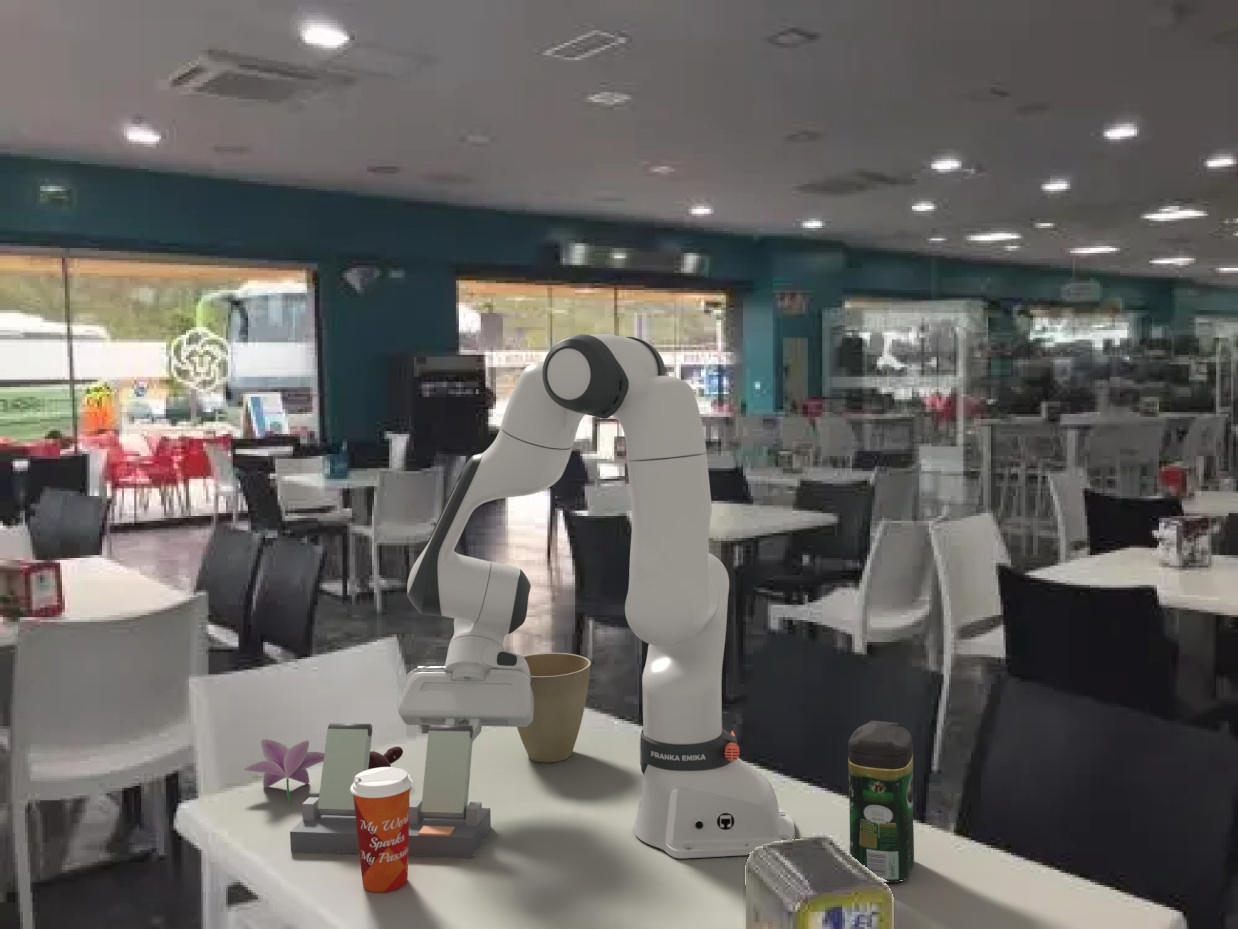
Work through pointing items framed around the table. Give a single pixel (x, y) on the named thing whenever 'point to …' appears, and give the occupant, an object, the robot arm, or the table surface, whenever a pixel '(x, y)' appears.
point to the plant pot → (555, 705)
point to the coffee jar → (882, 799)
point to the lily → (285, 763)
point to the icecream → (384, 758)
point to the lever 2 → (447, 772)
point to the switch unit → (423, 832)
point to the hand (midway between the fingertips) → (458, 750)
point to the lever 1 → (343, 766)
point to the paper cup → (382, 827)
